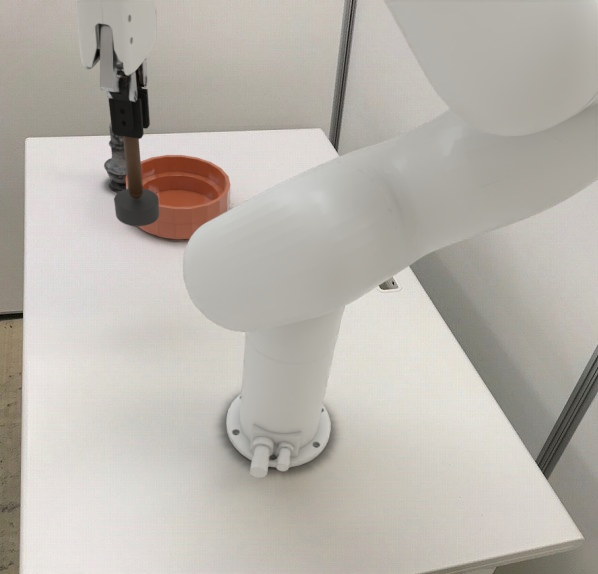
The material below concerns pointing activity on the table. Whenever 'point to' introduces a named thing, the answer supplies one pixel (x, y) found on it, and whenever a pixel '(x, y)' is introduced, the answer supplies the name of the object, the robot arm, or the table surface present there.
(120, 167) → the salt shaker
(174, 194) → the bowl
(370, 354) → the table surface
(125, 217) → the plunger
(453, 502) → the table surface
